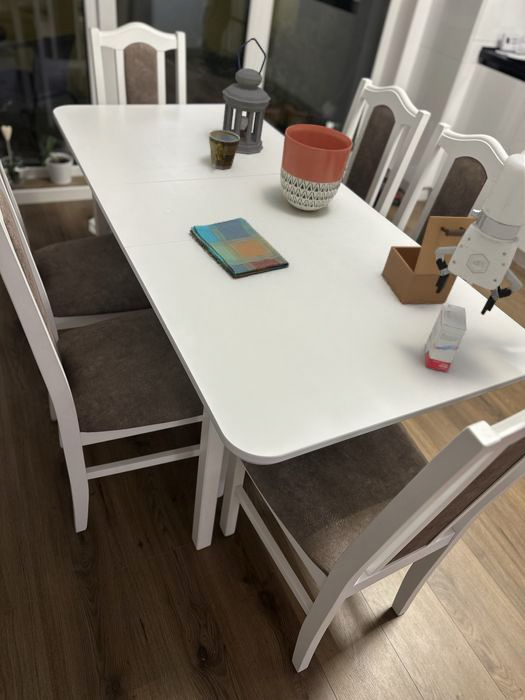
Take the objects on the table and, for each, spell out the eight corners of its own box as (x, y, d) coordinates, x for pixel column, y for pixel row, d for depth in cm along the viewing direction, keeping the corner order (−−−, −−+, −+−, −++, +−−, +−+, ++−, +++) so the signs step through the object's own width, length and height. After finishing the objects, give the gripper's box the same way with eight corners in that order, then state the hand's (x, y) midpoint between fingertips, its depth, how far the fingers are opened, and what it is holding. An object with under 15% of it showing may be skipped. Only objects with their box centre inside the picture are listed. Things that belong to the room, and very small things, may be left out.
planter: (310, 188, 178) (325, 122, 164) (347, 216, 166) (366, 147, 152) (261, 195, 168) (272, 125, 154) (297, 225, 157) (312, 153, 143)
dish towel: (243, 223, 153) (244, 215, 151) (290, 267, 139) (291, 258, 137) (188, 233, 144) (189, 224, 142) (232, 280, 130) (233, 271, 129)
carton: (381, 274, 143) (391, 246, 138) (422, 274, 146) (433, 246, 141) (402, 304, 134) (413, 275, 128) (445, 303, 137) (458, 275, 131)
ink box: (446, 373, 116) (468, 331, 108) (423, 367, 116) (443, 324, 109) (446, 349, 122) (466, 307, 115) (424, 343, 123) (443, 301, 115)
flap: (429, 216, 121) (439, 222, 117) (476, 217, 124) (487, 223, 121) (413, 273, 128) (422, 281, 125) (457, 273, 131) (468, 281, 128)
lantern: (264, 141, 204) (280, 37, 182) (260, 157, 191) (277, 48, 169) (221, 133, 204) (231, 28, 181) (214, 149, 191) (224, 38, 168)
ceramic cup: (211, 157, 185) (214, 127, 179) (239, 163, 185) (243, 134, 178) (200, 171, 175) (202, 140, 169) (230, 177, 175) (233, 147, 168)
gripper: (447, 213, 99) (415, 289, 110) (541, 251, 93) (497, 328, 104) (460, 201, 104) (428, 276, 115) (550, 237, 98) (507, 312, 109)
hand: (461, 301), depth 109 cm, fingers open, 9 cm apart
